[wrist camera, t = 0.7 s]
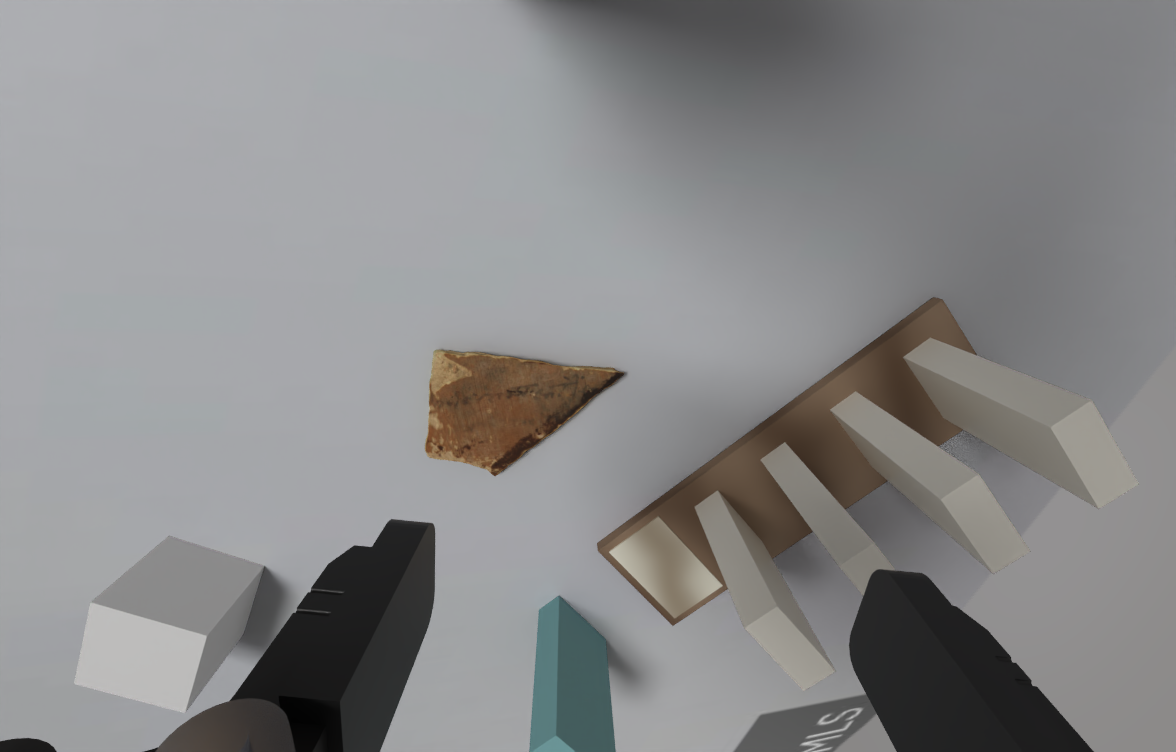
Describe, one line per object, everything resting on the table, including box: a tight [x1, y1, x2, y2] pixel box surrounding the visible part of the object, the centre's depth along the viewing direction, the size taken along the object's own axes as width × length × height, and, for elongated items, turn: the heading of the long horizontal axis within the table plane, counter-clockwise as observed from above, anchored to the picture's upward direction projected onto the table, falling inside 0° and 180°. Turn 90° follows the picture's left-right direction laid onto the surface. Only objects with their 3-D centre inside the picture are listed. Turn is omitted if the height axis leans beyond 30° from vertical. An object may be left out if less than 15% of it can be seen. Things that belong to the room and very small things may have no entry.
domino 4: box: [903, 338, 1139, 509], centre depth 27 cm, size 2×5×10 cm, turn 40°
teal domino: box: [529, 596, 616, 752], centre depth 33 cm, size 2×5×10 cm, turn 40°
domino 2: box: [695, 490, 836, 691], centre depth 29 cm, size 2×5×10 cm, turn 40°
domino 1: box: [761, 442, 896, 596], centre depth 29 cm, size 2×5×10 cm, turn 40°
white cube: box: [74, 536, 264, 713], centre depth 32 cm, size 6×6×6 cm
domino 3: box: [830, 391, 1030, 574], centre depth 28 cm, size 2×5×10 cm, turn 40°
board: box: [597, 297, 977, 625], centre depth 34 cm, size 25×8×1 cm, turn 130°
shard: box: [425, 350, 624, 476], centre depth 32 cm, size 11×8×2 cm
